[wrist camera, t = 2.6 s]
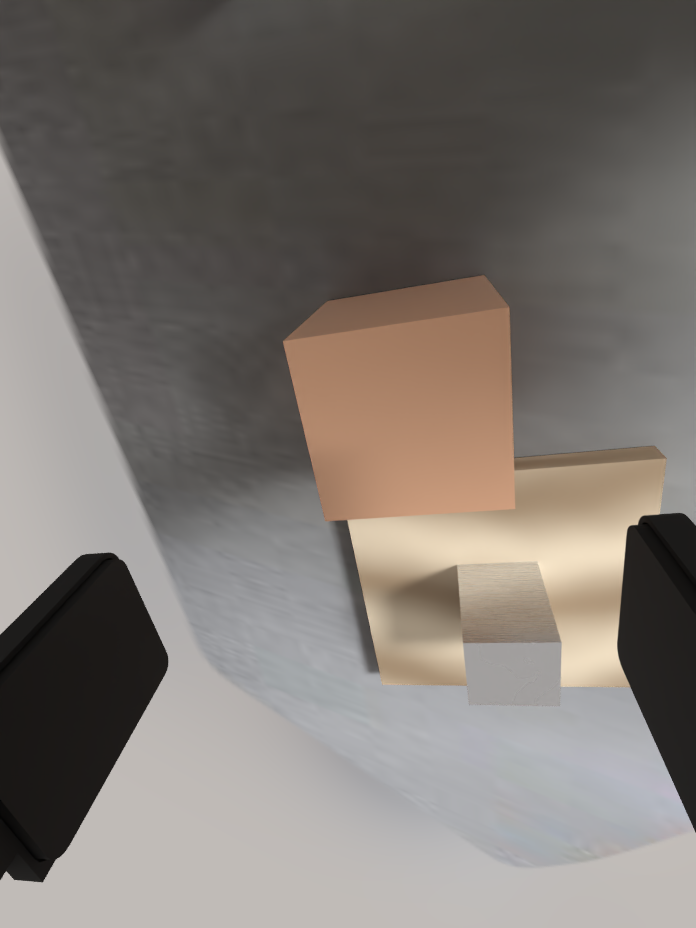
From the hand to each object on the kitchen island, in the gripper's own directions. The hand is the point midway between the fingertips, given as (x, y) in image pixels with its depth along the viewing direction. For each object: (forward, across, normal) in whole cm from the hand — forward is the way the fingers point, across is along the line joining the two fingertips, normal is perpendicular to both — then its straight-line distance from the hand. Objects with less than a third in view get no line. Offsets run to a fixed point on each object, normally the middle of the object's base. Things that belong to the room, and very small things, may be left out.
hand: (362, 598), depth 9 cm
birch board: (+14, -4, +12) cm, 19 cm away
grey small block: (+13, -4, +12) cm, 18 cm away
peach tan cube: (+14, -1, 0) cm, 14 cm away
